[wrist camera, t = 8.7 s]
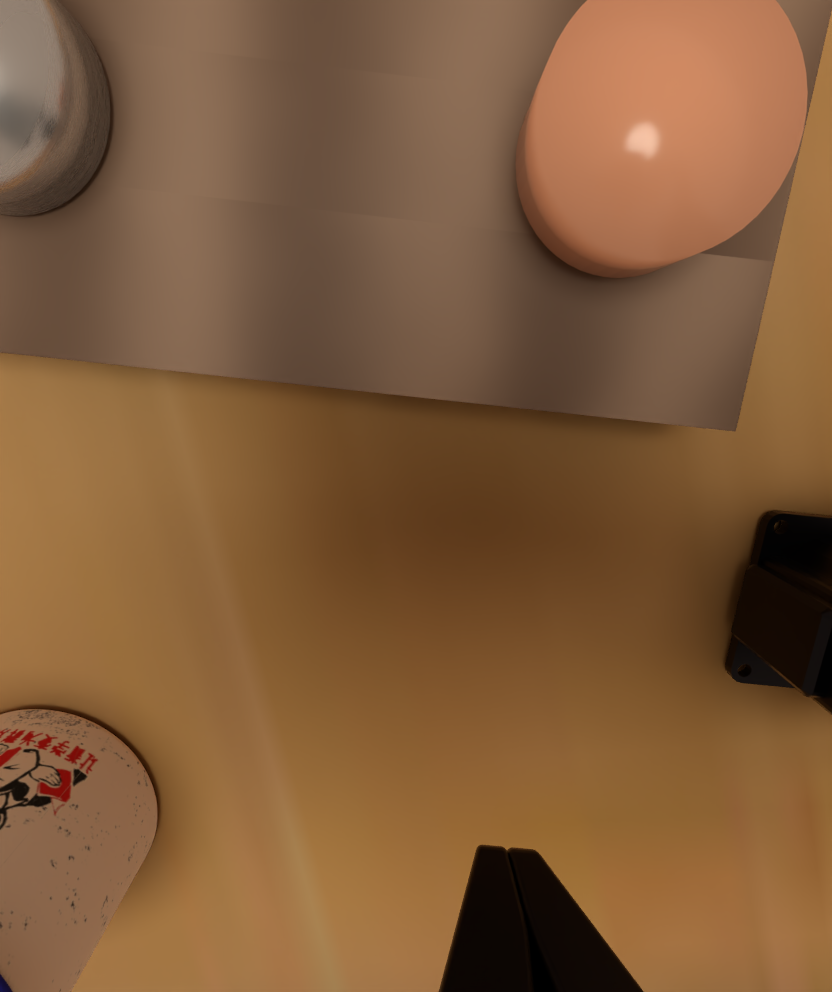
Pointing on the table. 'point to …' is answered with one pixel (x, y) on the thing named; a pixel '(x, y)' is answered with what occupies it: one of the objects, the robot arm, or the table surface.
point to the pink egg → (659, 130)
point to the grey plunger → (48, 107)
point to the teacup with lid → (64, 843)
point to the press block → (364, 218)
